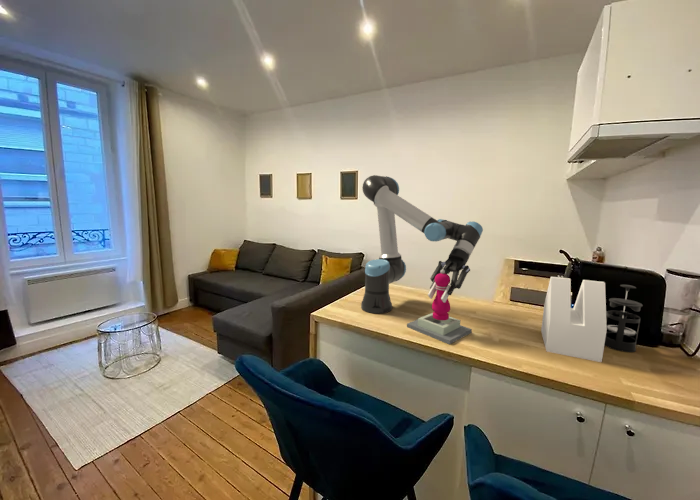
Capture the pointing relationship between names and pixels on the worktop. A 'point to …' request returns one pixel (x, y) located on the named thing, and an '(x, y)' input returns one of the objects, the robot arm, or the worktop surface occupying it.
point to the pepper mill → (438, 305)
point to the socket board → (440, 328)
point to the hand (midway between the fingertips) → (436, 298)
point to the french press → (622, 324)
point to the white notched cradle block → (575, 319)
